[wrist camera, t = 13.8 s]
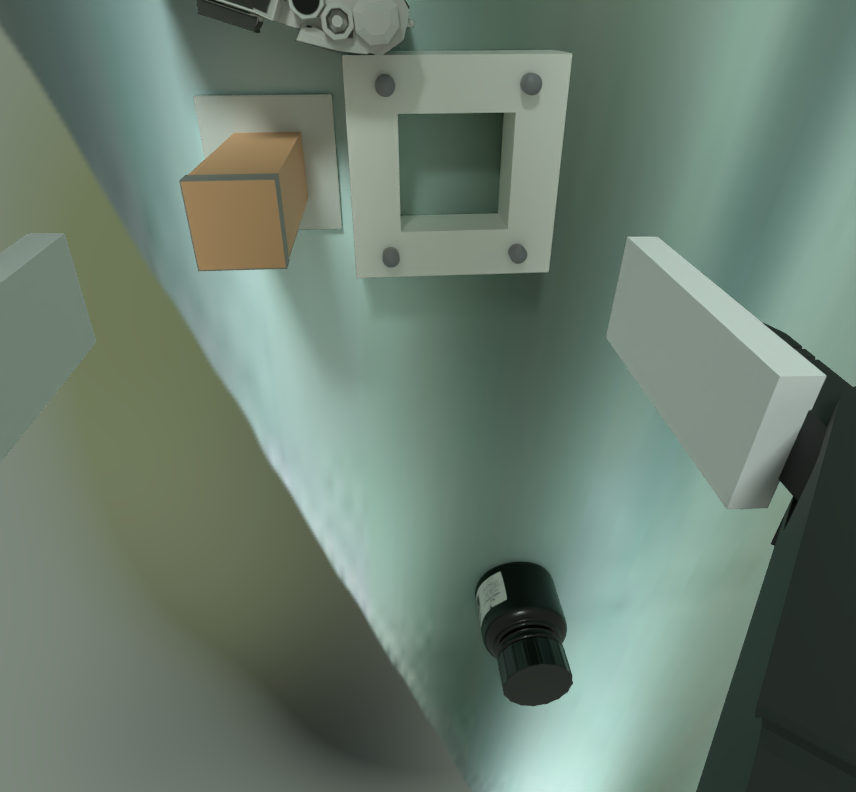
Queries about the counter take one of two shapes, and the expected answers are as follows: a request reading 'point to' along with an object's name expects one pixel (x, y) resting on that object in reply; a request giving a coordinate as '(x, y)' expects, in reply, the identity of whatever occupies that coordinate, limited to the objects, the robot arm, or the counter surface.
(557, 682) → the ink bottle
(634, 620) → the counter surface
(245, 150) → the plug
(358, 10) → the camera
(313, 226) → the mat
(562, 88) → the frame
